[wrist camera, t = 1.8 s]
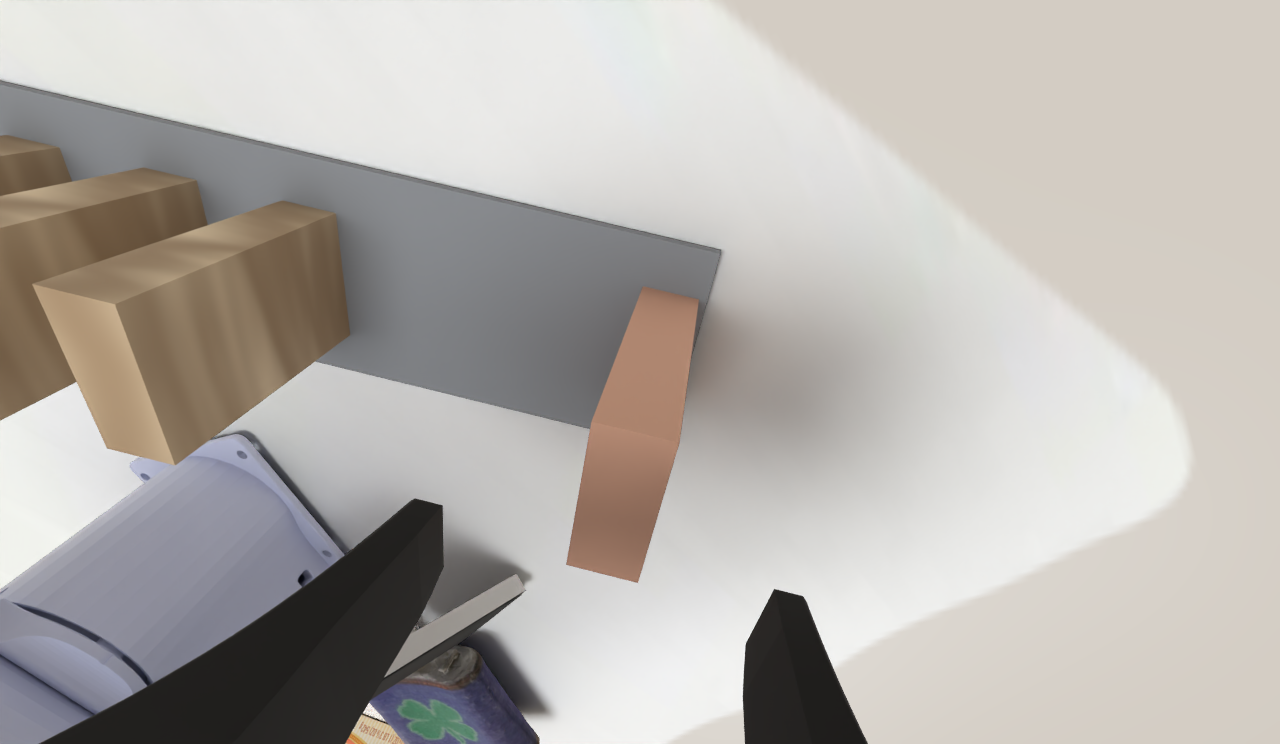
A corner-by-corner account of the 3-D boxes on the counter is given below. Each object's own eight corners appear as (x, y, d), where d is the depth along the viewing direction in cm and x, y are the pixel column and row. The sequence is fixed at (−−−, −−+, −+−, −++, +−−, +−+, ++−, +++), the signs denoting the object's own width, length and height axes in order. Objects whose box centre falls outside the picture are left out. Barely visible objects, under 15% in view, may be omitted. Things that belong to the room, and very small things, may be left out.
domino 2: (335, 213, 19) (114, 304, 12) (350, 335, 22) (175, 465, 15) (281, 200, 19) (31, 284, 12) (303, 323, 22) (107, 448, 15)
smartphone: (461, 642, 32) (120, 861, 20) (452, 623, 32) (110, 827, 20) (530, 587, 28) (152, 822, 15) (519, 567, 28) (140, 780, 16)
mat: (720, 250, 18) (720, 253, 18) (667, 441, 23) (666, 447, 22) (-207, 32, 19) (-225, 32, 19) (-80, 258, 23) (-92, 261, 23)
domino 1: (196, 180, 19) (-99, 252, 12) (227, 305, 22) (-1, 420, 15) (143, 167, 19) (-180, 231, 12) (181, 293, 22) (-68, 404, 15)
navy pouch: (411, 766, 35) (323, 663, 31) (434, 721, 38) (356, 619, 34) (531, 775, 33) (453, 663, 28) (548, 725, 35) (479, 615, 31)
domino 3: (698, 299, 19) (679, 443, 12) (668, 412, 21) (637, 582, 14) (643, 286, 19) (591, 421, 12) (619, 400, 21) (566, 564, 15)
